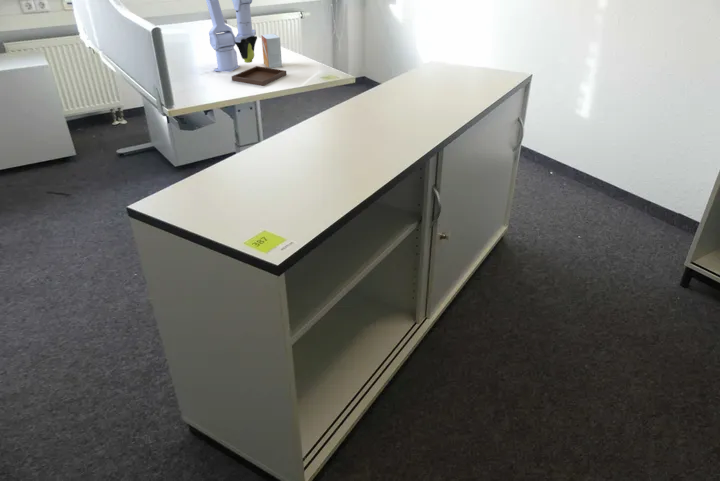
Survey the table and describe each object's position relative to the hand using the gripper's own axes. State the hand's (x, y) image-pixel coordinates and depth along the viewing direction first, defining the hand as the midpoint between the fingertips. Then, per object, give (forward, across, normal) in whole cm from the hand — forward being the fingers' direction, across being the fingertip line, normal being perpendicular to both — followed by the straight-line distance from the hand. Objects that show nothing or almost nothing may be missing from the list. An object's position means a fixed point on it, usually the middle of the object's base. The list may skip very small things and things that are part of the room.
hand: (247, 56), depth 228 cm
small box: (+10, +22, -1) cm, 24 cm away
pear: (+2, 0, 0) cm, 2 cm away
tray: (+10, +2, -4) cm, 10 cm away
